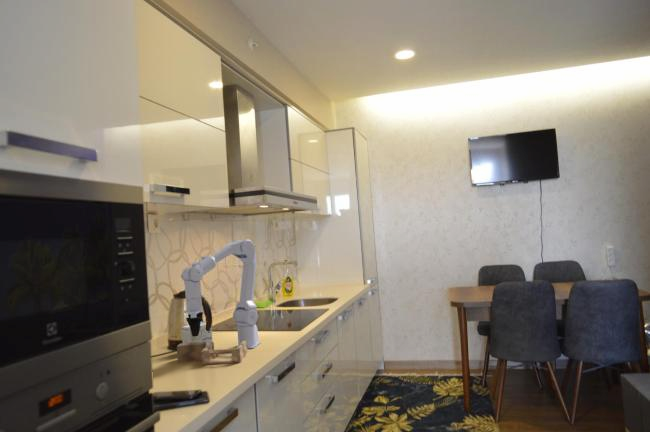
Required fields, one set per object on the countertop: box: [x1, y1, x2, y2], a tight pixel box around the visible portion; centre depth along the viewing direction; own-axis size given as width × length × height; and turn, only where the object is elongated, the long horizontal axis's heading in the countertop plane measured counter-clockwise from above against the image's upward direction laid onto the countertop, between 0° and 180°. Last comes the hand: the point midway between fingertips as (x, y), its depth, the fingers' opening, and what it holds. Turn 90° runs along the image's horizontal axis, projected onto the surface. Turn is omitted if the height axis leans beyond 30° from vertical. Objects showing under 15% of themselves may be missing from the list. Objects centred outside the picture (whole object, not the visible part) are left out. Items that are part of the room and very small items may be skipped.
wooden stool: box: [201, 340, 248, 366], centre depth 178 cm, size 14×14×5 cm
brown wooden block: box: [176, 342, 206, 362], centre depth 181 cm, size 10×4×6 cm, turn 89°
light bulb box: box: [180, 321, 214, 347], centre depth 196 cm, size 11×7×11 cm, turn 141°
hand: (196, 334), depth 179 cm, fingers open, 7 cm apart
